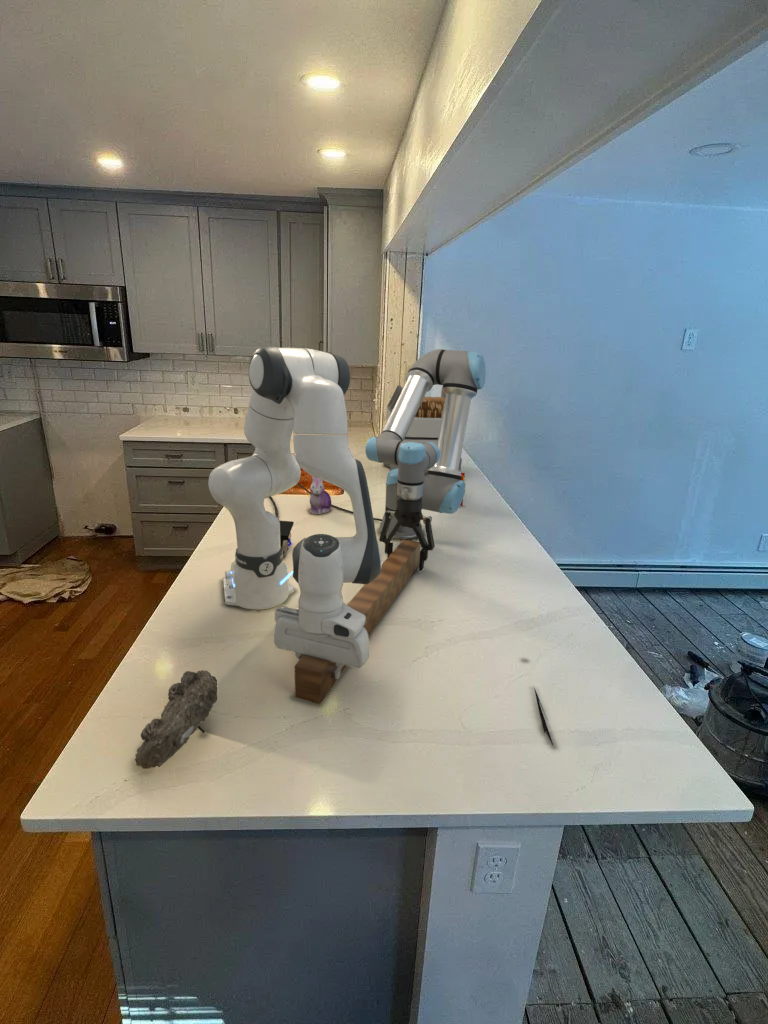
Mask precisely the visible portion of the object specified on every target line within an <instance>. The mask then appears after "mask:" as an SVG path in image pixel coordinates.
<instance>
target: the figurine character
mask: <svg viewBox="0 0 768 1024" xmlns="http://www.w3.org/2000/svg"><path fill="white" fill-rule="evenodd" d="M279 522H280V546H281V547H282V552H283V556H285V553H286V552H288V551H289V547H290V546H292V545H293V542H292V533H291V532H292V529H293V526H294V524H295V523H294V521H289V520H279Z"/></svg>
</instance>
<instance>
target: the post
mask: <svg viewBox="0 0 768 1024" xmlns="http://www.w3.org/2000/svg"><path fill="white" fill-rule="evenodd" d="M421 548H422V547H421V545H420V542H419V541H417V540H412V539H411V540H405V539H403V540H401V542H399V544H398V545H397V546H396V547H395V548H394V549H393V552H392V553H391V554H390V556H389V557H388V558H387V557H386V559H385V560H384V561H383V562H382V568H381V573H380V574H379V575H378V576H377V577H376V578H375V579H374V580H373V581H372V582H370V583H369V584H363V586H362V587H361V588H360V589H359V590H358V592H357V593H356V594H355V595H354V596H353V597H352V598H351V600H349V602H348V603H347V604H346V605H347V606H349V607H351V608H352V609H354V610H356V611H358V612H360V613H362V614H363V615H365V617H366V622H365V624H364V626H363V627H364V628H365V629H366V631H367V633H368V637H369V636H370V635H371V634H372V632H373V630H374V629H375V628H376V626H377V625H378V624H379V622H380V621H381V619H382V618H383V616H384V615H385V613H387V611H388V609H389V608H390V607H391V605H392V604H393V602H394V601H395V600H396V598H397V597H398V595H399V594H400V592H401V591H402V590H403V588H404V587H405V586H406V584H407V582H408V581H409V580H410V578H411V577H412V576H413V574H414V573H415V571H416V569H417V568H419V561H420V551H421ZM334 667H338V666H336V662H332V661H329V660H325V659H321V658H317V657H313V656H309V655H305V654H304V655H303V657H302V658H301V659H300V660H299V661H298V660H297V662H296V663H295V665H294V698H295V699H300V700H303V701H306V702H310V703H314V704H318V705H321V704H322V703H323V701H324V700H325V698H326V697H327V695H328V694H329V692H330V691H332V688H333V687H334V686H335V684H336V683H337V682H338V680H339V678H338V679H334V678H331V671H332V670H333V668H334ZM347 667H349V666H348V665H344V666H343V667H342V668H341V674H340V677H341V676H342V674H343V673H344V671H345V670H346V668H347Z"/></svg>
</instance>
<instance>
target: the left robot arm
mask: <svg viewBox="0 0 768 1024" xmlns="http://www.w3.org/2000/svg"><path fill="white" fill-rule="evenodd" d="M248 364H249V365H248V380H249V384H250V387H251V389H252V392H251V394H250V399H249V403H248V408H247V412H246V416H245V422H244V426H243V433H244V436H245V439H246V440H247V441H248V443H249V444H250V445H252V446H253V447H254V452H253V453H252V455H249V456H247V457H246V456H245V457H243V458H237V459H234V460H229V461H227V462H225V463H223V464H220V465H218V466H216V467H215V468H213V469H212V470H211V471H210V474H209V476H208V481H207V484H208V491H209V493H210V495H211V497H212V499H213V500H214V501H215V502H216V503H217V504H219V505H220V506H222V507H223V508H225V509H226V510H227V511H228V512H229V513H230V516H231V517H232V519H233V521H234V526H235V535H236V548H235V553H234V557H235V558H234V560H233V561H232V562H231V563H230V570H225V571H224V575H225V576H224V577H223V578H222V584H223V594H224V603H225V605H227V606H237V607H240V608H243V609H246V610H247V609H248V610H266V609H271V608H275V607H277V606H280V605H281V604H283V603H284V602H286V601H287V600H288V598H289V596H290V595H291V594H293V593H294V592H295V587H294V586H293V585H292V584H290V579H289V578H290V577H291V576H292V578H293V579H294V580H295V582H296V583H297V585H298V587H299V592H300V593H299V597H298V603H297V604H298V608H291V607H288V606H284V605H282V606H280V607H278V608H276V610H275V611H274V621H275V625H274V626H275V627H274V631H273V632H274V633H273V644H274V645H275V647H276V648H277V649H280V650H283V651H287V652H292V653H294V657H295V658H296V660H297V662H298V661H299V660H300V659H301V658H302V657H303V655H304V654H305V655H309V656H313V657H317V658H321V659H325V660H329V661H332V662H336V666H338V667H334V668H333V670H332V671H331V678H334V679H338V680H339V678H340V677H341V676H340V674H341V668H342V667H343V666H344V665H348V666H347V667H351V668H356V669H361V668H363V667H364V666H365V665H366V663H367V662H368V660H369V657H370V640H369V639H370V638H369V636H368V633H367V631H366V629H365V628H364V627H363V626H364V624H365V622H366V617H365V615H363V614H362V613H360V612H358V611H356V610H354V609H352V608H351V607H349V606H347V604H346V603H344V598H343V595H342V589H343V587H344V584H345V583H347V584H348V583H351V584H355V585H356V584H357V585H358V584H359V585H365V584H369V583H370V582H372V581H373V580H374V579H375V578H376V577H377V576H378V575H379V574H380V573H381V568H382V564H383V557H382V551H381V547H380V545H379V542H378V539H377V533H376V527H375V520H374V519H373V518H374V514H373V509H372V508H373V507H372V502H371V495H370V490H369V486H368V485H369V484H368V480H367V476H366V475H367V474H366V471H365V468H364V466H363V464H362V462H361V461H360V460H358V459H357V458H355V456H354V455H353V454H352V453H353V452H352V451H351V448H350V445H349V438H348V434H349V433H348V415H347V408H346V400H345V395H346V393H347V391H348V390H349V388H350V384H351V370H350V367H349V363H348V361H347V360H346V359H345V358H344V357H343V356H341V355H339V354H338V353H334V352H331V351H326V352H325V351H322V350H318V349H314V348H306V347H277V346H275V345H271V346H270V345H269V346H264V347H263V346H262V347H260V348H258V349H256V350H255V352H254V353H253V354H252V355H251V358H250V360H249V363H248ZM292 438H293V439H292ZM291 440H293V441H292V443H293V453H294V455H293V454H292V452H291ZM301 470H303V471H304V472H305V473H307V474H308V475H310V476H311V477H312V476H313V477H315V478H318V479H320V480H323V482H326V483H329V484H331V485H333V486H336V487H338V488H339V489H341V490H343V491H344V492H345V493H346V494H347V495H348V497H349V498H350V502H351V507H352V512H353V513H352V514H353V518H354V525H355V531H356V533H355V535H353V536H333V535H331V534H327V533H316V534H312V535H309V536H307V537H304V538H302V539H301V540H300V541H299V542H297V543H296V545H295V546H294V547H293V550H292V570H291V572H289V567H288V564H286V563H285V562H284V561H283V556H284V555H283V551H282V547H281V546H280V522H279V521H280V520H279V512H278V511H279V510H278V508H277V507H278V506H277V504H276V502H275V500H274V499H273V497H274V496H278V495H281V494H284V493H285V492H287V491H289V490H291V489H292V488H294V487H295V486H296V485H298V484H297V483H299V482H300V479H301V474H302V471H301ZM267 498H269V500H271V502H272V504H273V507H274V510H275V514H274V513H272V512H270V511H268V510H266V507H265V499H267ZM341 675H342V674H341Z"/></svg>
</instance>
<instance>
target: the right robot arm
mask: <svg viewBox="0 0 768 1024" xmlns="http://www.w3.org/2000/svg"><path fill="white" fill-rule="evenodd" d="M486 375H487V374H486V361H485V358H484V356H483V355H482V354H481V353H480V352H476V351H470V350H453V349H443V348H441V349H440V348H439V349H434V350H430V351H428V352H426V353H425V354H422V355H421V356H420V357H419V358H418V359H416V360H415V361H414V363H412V365H411V366H410V368H409V369H408V371H407V373H406V375H405V383H404V386H403V387H402V388H403V390H402V392H401V394H400V396H399V398H398V400H397V402H396V404H395V406H394V408H393V410H392V412H391V414H390V416H389V418H388V420H387V422H386V421H385V424H384V426H383V428H382V430H381V432H380V434H379V436H371V437H370V438H368V440H367V441H366V444H365V456H366V458H367V459H368V460H369V461H372V462H376V463H379V464H383V463H387V464H394V465H398V468H397V469H393V470H391V471H390V470H389V471H388V473H387V475H386V482H385V504H384V505H385V507H384V508H385V509H384V513H383V515H382V518H376V517H373V519H374V521H378V522H379V526H378V533H379V534H380V535H379V538H378V541H379V542H381V543H384V553H385V555H387V557H386V559H387V558H388V557H389V556H390V554H391V553H392V552H393V551H394V542H392V540H395V541H402V540H403V539H405V540H411V541H412V540H415V539H417V540H418V542H420V545H421V547H420V561H419V566H418V572H422V571H423V569H424V568H425V562H426V561H427V560H428V558H429V551H433V550H434V549H435V547H436V545H435V544H436V543H435V539H434V533H433V528H432V519H433V517H432V516H431V515H429V516H427V515H423V513H422V510H424V511H430V512H435V513H439V514H449V515H452V514H455V513H456V512H457V511H458V510H459V508H460V507H461V506H460V504H461V502H462V500H463V501H464V496H465V492H466V482H465V481H462V480H461V478H462V475H461V473H462V472H461V473H460V472H459V470H458V468H459V463H460V457H461V458H462V453H463V445H464V441H465V435H466V429H467V426H468V425H467V424H468V419H469V413H470V407H471V402H472V399H474V397H476V396H477V394H478V390H482V389H483V388H484V387H485V384H486ZM436 385H439V386H442V387H443V388H442V387H441V391H442V390H443V392H444V393H445V395H446V397H445V402H444V408H443V413H442V419H441V424H440V430H439V436H438V441H437V445H436V444H434V443H432V442H423V443H416V442H406V441H404V439H405V436H406V434H407V432H408V430H409V428H410V426H411V424H412V422H413V420H414V417H415V415H416V413H417V411H418V409H419V407H420V405H421V403H422V401H423V399H424V397H426V394H427V393H428V392H430V391H431V389H433V387H434V386H436ZM461 452H462V453H461ZM426 471H427V472H426ZM425 472H426V474H425ZM296 485H298V486H299V487H300V488H301V489H303V490H304V491H306V492H307V494H309V495H310V496H311V495H312V493H311V491H310V490H309V489H307V488H306V487H304V486H303V485H302V484H301V483H299V482H298V483H297V484H296ZM331 508H334V509H338V510H340V511H342V512H343V511H344V512H347V513H350V514H353V510H349V509H346V508H343V507H339V506H337V505H334V504H333V503H331ZM421 521H422V522H423V525H424V529H425V534H424V532H423V525H422V524H421Z"/></svg>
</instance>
